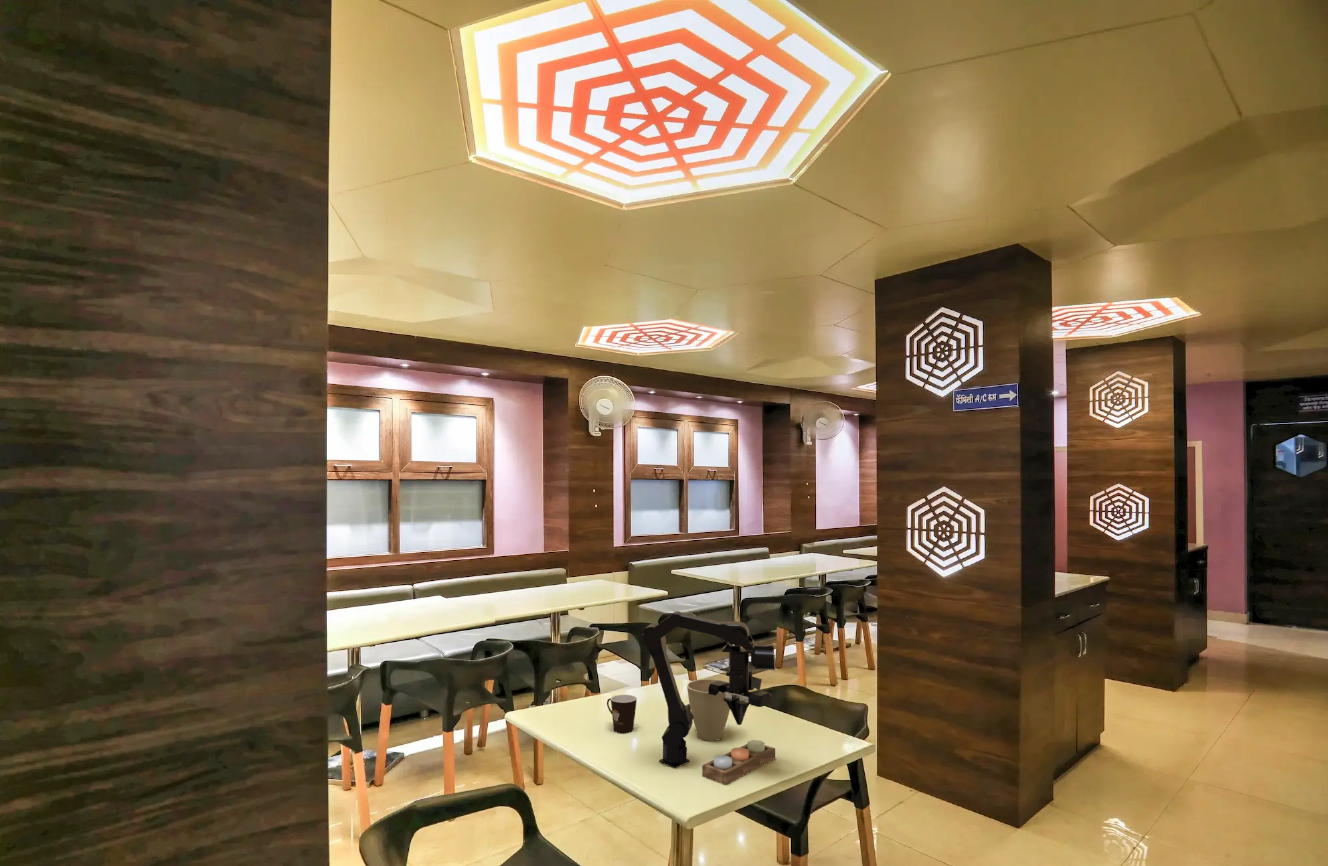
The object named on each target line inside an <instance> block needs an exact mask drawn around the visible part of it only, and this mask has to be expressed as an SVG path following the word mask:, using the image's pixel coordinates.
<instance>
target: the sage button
mask: <svg viewBox="0 0 1328 866" xmlns="http://www.w3.org/2000/svg"><path fill="white" fill-rule="evenodd" d="M746 744H747V750H749V751H751V752H754V753H758V754H759V753H761V752H763V751H765V742H764V741H763V740H757V739H753V740H752V739H751V740H748V741H747V743H746Z"/></svg>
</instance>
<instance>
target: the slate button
mask: <svg viewBox="0 0 1328 866" xmlns="http://www.w3.org/2000/svg"><path fill="white" fill-rule="evenodd" d="M723 755H724V754H723ZM723 755H716V756H714V757H713V760H714V767H716V768H719V769H721V770H724V771H725V770H727V769H729V768H731V767H732V758H731V757H728V756H723Z"/></svg>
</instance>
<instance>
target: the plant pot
mask: <svg viewBox="0 0 1328 866" xmlns="http://www.w3.org/2000/svg"><path fill="white" fill-rule="evenodd" d="M717 681H723V682H728V683H729V681H726V680H722V679H715V678H714V679H713V678H702V679H701V678H700V679H695V680H694V679H693V680H692V681H689V682H688V683H687V684H686V687H687V689H686V690H687V696H688V702H689V703H688V704H690V709H691V713H692V715H693V716H694V718H693V724H694V727H695V731H696V733H697V736H698V738H699V739H701V740H703V741H707V740H715V741H718V739H719V740H720V739H722V737H723V735H724V732H725V728H726V725H727V721H728V719H729V714H730V712H731V710H730V708H729V706H728V705H727V703H726V701H724V698H725V693H722V692H719V693H718V694H717V695H716V696H715V695H711V694H708V687H709V685H710V684H711V683H714V682H717Z"/></svg>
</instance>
